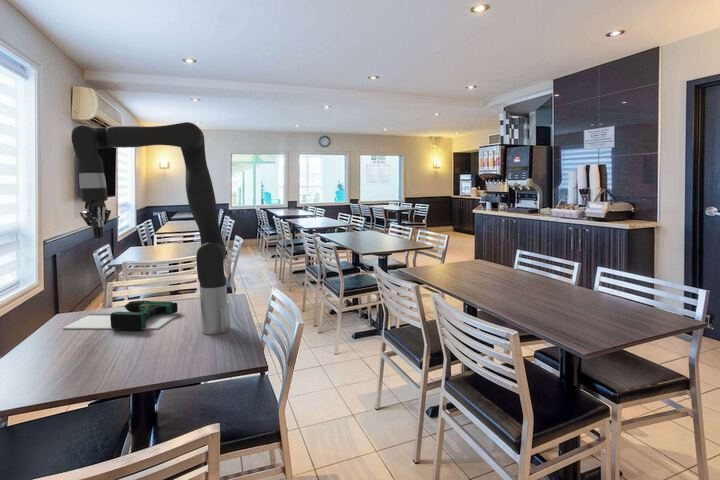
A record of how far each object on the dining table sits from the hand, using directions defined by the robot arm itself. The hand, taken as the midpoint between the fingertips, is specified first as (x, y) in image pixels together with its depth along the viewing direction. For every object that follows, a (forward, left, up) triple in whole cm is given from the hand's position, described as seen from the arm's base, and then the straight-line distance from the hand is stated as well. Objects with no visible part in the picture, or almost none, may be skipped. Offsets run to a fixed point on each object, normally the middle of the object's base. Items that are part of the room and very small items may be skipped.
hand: (99, 238), depth 141 cm
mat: (+5, -17, -36) cm, 40 cm away
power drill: (+5, -8, -32) cm, 34 cm away
